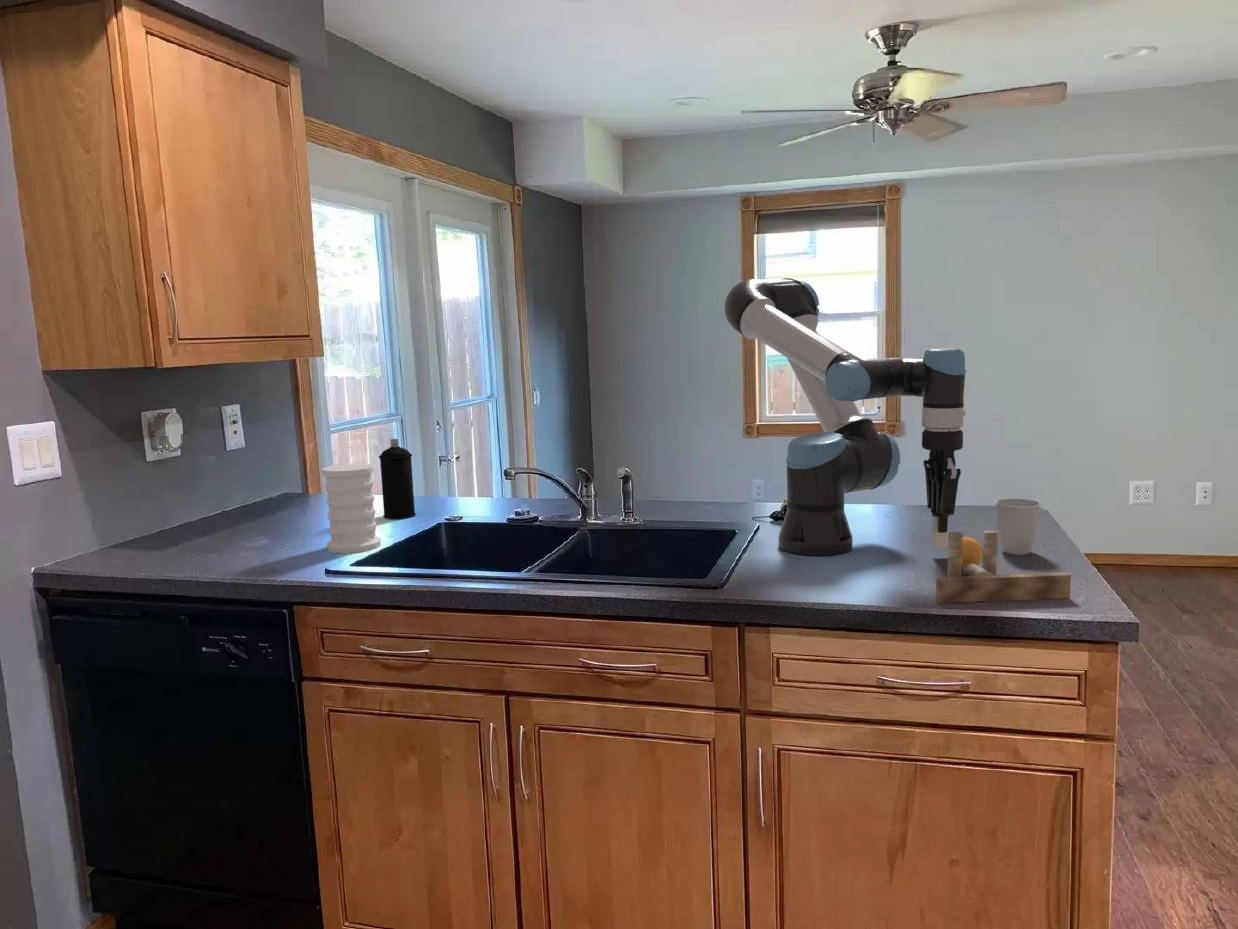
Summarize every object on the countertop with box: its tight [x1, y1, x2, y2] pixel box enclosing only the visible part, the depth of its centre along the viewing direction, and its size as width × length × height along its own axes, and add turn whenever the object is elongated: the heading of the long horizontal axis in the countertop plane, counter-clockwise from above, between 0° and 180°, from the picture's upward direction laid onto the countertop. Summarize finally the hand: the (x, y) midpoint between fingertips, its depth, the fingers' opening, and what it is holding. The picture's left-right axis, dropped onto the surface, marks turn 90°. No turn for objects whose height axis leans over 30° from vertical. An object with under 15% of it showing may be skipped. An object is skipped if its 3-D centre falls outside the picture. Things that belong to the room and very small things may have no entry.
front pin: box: [962, 562, 994, 576], centre depth 164 cm, size 2×2×8 cm
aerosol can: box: [378, 438, 417, 520], centre depth 233 cm, size 8×8×20 cm
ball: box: [962, 536, 983, 569], centre depth 172 cm, size 6×6×6 cm
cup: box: [995, 498, 1041, 556], centre depth 182 cm, size 8×8×10 cm
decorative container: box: [321, 462, 382, 554], centre depth 202 cm, size 12×12×18 cm
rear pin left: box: [981, 530, 999, 575], centre depth 165 cm, size 2×2×8 cm
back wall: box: [935, 572, 1072, 604], centre depth 153 cm, size 22×2×4 cm, turn 92°
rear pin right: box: [946, 531, 964, 577], centre depth 165 cm, size 2×2×8 cm
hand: (939, 547), depth 180 cm, fingers closed
